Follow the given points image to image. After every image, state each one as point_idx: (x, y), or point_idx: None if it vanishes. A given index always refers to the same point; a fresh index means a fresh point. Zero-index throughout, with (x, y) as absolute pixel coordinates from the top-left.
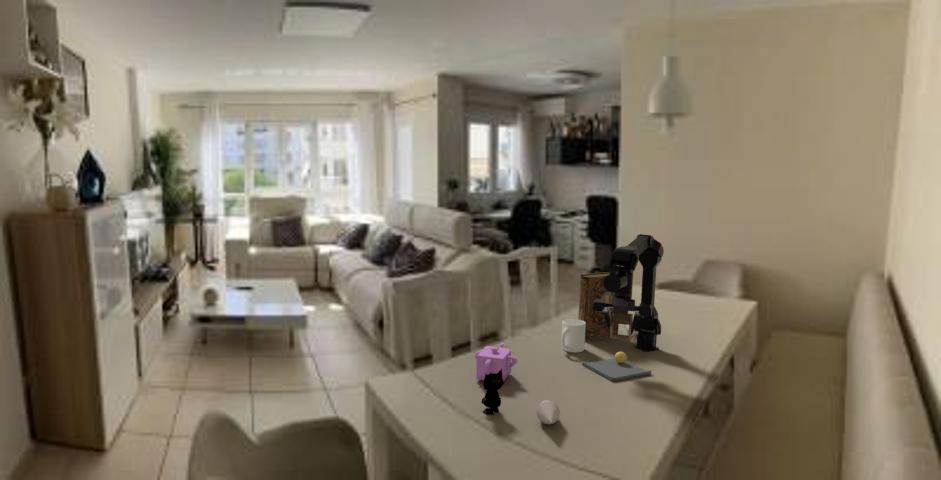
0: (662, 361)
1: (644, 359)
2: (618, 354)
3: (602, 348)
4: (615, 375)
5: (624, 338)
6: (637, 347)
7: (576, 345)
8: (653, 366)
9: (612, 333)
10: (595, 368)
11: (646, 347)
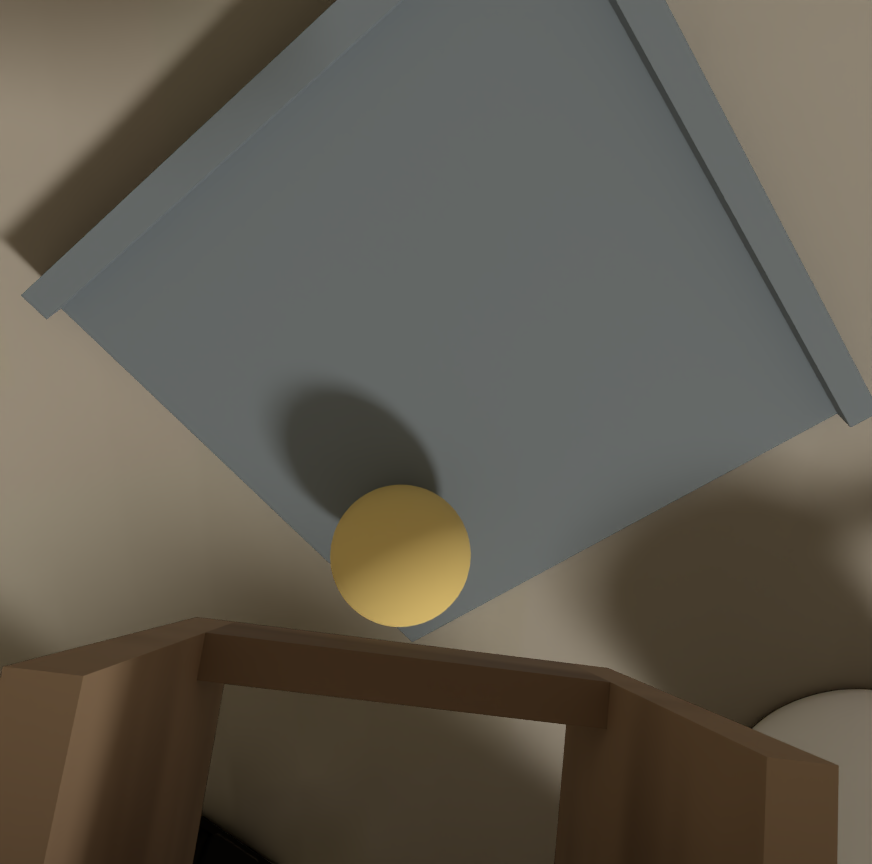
0: (8, 645)
1: None
2: (428, 555)
3: (549, 805)
4: (485, 78)
5: (319, 639)
6: (255, 854)
7: (863, 753)
8: (64, 516)
9: (591, 752)
10: (756, 208)
11: None
